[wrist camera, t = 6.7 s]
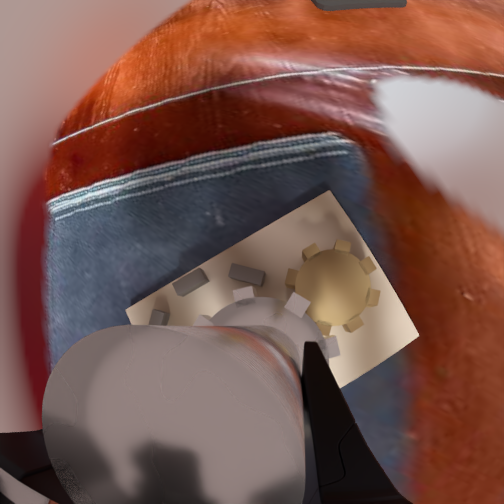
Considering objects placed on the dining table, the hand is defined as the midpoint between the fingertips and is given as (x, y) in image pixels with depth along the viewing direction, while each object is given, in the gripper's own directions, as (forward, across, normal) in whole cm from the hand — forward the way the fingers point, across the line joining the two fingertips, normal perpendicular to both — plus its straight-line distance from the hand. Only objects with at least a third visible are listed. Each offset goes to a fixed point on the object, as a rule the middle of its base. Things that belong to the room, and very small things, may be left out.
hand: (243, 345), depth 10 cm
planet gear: (+4, 0, +6) cm, 7 cm away
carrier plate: (+10, +1, +9) cm, 13 cm away
